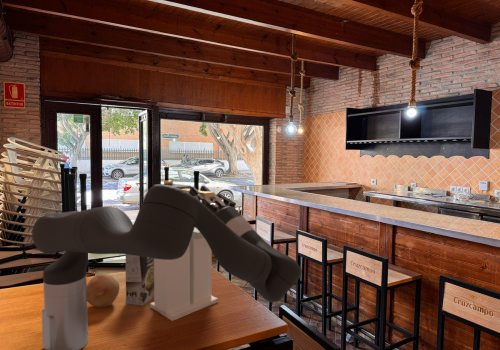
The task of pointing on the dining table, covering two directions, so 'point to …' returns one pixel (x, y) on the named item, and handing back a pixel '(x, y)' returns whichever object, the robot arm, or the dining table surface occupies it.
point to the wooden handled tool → (187, 188)
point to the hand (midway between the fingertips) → (196, 188)
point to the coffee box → (139, 279)
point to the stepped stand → (184, 280)
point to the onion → (102, 290)
